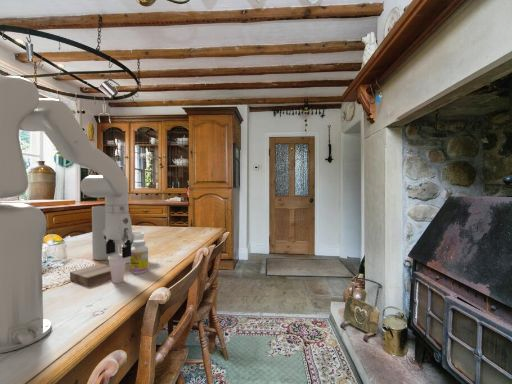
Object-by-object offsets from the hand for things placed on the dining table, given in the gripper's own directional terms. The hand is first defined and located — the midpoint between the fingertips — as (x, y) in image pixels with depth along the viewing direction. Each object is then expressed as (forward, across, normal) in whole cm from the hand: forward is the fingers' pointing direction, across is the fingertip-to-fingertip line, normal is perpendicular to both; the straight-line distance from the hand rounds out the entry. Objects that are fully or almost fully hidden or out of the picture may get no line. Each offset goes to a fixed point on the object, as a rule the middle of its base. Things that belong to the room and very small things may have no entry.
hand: (118, 255), depth 97 cm
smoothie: (+10, 0, +1) cm, 10 cm away
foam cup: (+11, +18, -18) cm, 27 cm away
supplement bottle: (+10, +2, -10) cm, 15 cm away
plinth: (+10, +11, +3) cm, 15 cm away
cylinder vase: (+11, +35, -16) cm, 40 cm away
